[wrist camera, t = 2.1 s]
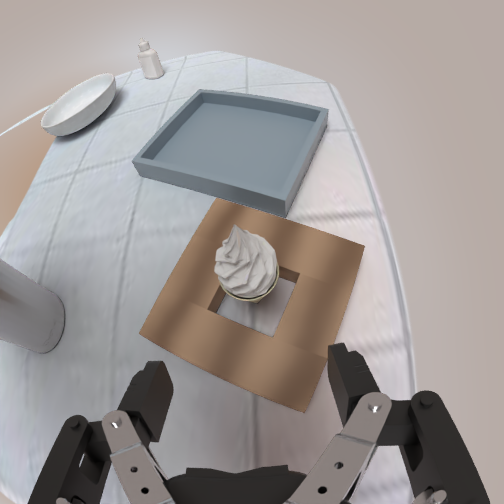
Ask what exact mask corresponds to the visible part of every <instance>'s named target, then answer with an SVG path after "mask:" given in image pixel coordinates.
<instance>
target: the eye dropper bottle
mask: <svg viewBox="0 0 504 504" xmlns="http://www.w3.org/2000/svg"><path fill="white" fill-rule="evenodd" d="M139 48H140V51H141V52H140V53H139V54H138V59H139V62H140V64H141V67H142V70H143V73H144V75H145V77H146V78H147V79H157V78H159V77H161V76H162V75H163V74H164V73H163V69H162V66H161V63H160V60H159V58H158V55H157V52H156V51H155V50H153V49H151V48H150V46H149V43H148V41H144V39H143V38H141V39H140V44H139Z"/></svg>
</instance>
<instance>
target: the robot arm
mask: <svg viewBox="0 0 504 504" xmlns="http://www.w3.org/2000/svg"><path fill="white" fill-rule="evenodd" d="M64 319H65V318H64V308H63V305H62V302H61V300H60V299H59V297H58V296H57V295H55V294H54V293H52V292H51V291H49V290H47V289H46V288H44V287H42V286H41V285H39V284H38V283H36V282H35V281H33V280H31V279H30V278H28V277H27V276H25V275H24V274H22V273H21V272H19V271H18V270H16V269H15V268H13V267H12V266H10V265H9V264H7V263H6V262H4V261H3V260H2V259H0V339H1V340H4V341H6V342H9V343H12V344H15V345H17V346H20V347H23V348H26V349H29V350H32V351H35V352H38V353H46V352H49V351H50V350H51V349H53V348H54V347H55V345H56V344H57V343H58V341H59V339H60V337H61V334H62V332H63V327H64ZM328 378H329V382H330V385H331V388H332V392H333V395H334V398H335V401H336V405H337V408H338V411H339V415H340V418H341V422H342V425H343V430H342V432H341V433H340V434H336V435H335V437H334V438H333V439H332V441H331V442H330V444H329V445H328V447H327V448H326V450H325V451H324V453H323V454H322V456H321V457H320V459H319V460H318V462H317V463H316V464H315V466H314V467H313V469H312V470H311V471H310V473H309V474H308V475H306V474H303V473H300V472H295V471H288V465H282V466H271V467H261V468H257V469H254V470H250V471H246V472H241V473H237V474H234V473H228V472H223V471H219V470H214V469H207V468H187V469H186V474H182V475H178V476H175V477H172V478H170V479H168V477H167V476H166V475H165V473H164V472H163V470H162V468H161V467H160V465H159V463H158V462H157V460H156V458H155V456H154V455H153V453H152V451H151V449H150V448H149V443H150V442H159V439H160V435H161V432H162V429H163V425H164V422H165V419H166V415H167V412H168V409H169V406H170V402H171V399H172V396H173V383H172V381H171V378H170V376H169V373H168V371H167V368H166V366H165V363H164V362H163V361H148V362H147V364H146V366H145V368H144V370H143V371H139V372H138V373H137V374H136V375H135V376H134V377H133V378H132V380H131V382H130V385H129V386H128V388H127V391H126V392H125V394H124V397H123V399H122V401H121V403H120V405H119V407H118V409H117V410H116V411H112V412H109V413H108V414H107V415H105V416H104V418H103V420H102V421H97V422H88V421H87V420H86V418H85V417H83V416H81V415H75V416H72V417H70V418H69V419H67V420H66V422H65V423H64V425H63V427H62V429H61V431H60V433H59V435H58V437H57V439H56V441H55V443H54V445H53V447H52V449H51V451H50V453H49V455H48V458H47V460H46V462H45V464H44V466H43V468H42V471H41V473H40V475H39V477H38V480H37V482H36V484H35V487H34V489H33V492H32V494H31V496H30V499H29V501H28V504H100V500H101V496H102V493H103V489H104V486H105V483H106V479H107V476H108V473H109V469H110V466H111V463H113V466H114V468H115V471H116V473H117V475H118V478H119V480H120V482H121V484H122V487H123V489H124V491H125V493H126V495H127V497H128V499H129V501H130V503H131V504H351V503H349V501H350V499H351V498H352V496H353V494H354V493H355V491H356V489H357V488H358V486H359V484H360V482H361V480H362V478H363V476H364V474H365V472H366V470H367V468H368V466H369V464H370V462H371V461H372V459H373V457H374V455H375V453H376V450H377V448H378V446H393V445H398V446H399V449H400V452H401V455H402V458H403V461H404V464H405V467H406V470H407V474H408V477H409V480H410V484H411V487H412V490H413V494H414V497H415V500H414V501H413V502H412V503H411V504H490V501H489V498H488V496H487V493H486V490H485V488H484V486H483V483H482V481H481V479H480V476H479V474H478V471H477V469H476V467H475V465H474V463H473V460H472V458H471V456H470V454H469V452H468V450H467V448H466V446H465V444H464V442H463V440H462V438H461V435H460V433H459V432H458V430H457V428H456V426H455V424H454V422H453V420H452V418H451V416H450V414H449V412H448V411H447V409H446V407H445V405H444V403H443V401H442V400H441V398H440V397H439V395H438V394H436V393H435V392H432V391H420V392H418V393H416V394H415V395H414V396H413V397H412V399H411V400H402V401H396V400H391V399H390V398H389V397H388V396H387V395H385V394H383V393H381V392H380V390H379V388H378V386H377V384H376V382H375V380H374V378H373V376H372V374H371V372H370V370H369V368H368V366H367V364H366V362H365V360H364V358H363V356H362V355H361V354H359V353H358V352H357V351H351V352H348V350H347V348H346V346H345V344H344V343H338V344H333V345H328ZM83 454H84V455H85V456H84V458H83V461H82V463H81V466H80V468H79V464H80V461H81V458H82V456H83Z"/></svg>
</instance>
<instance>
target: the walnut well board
mask: <svg viewBox="0 0 504 504" xmlns="http://www.w3.org/2000/svg"><path fill="white" fill-rule="evenodd" d="M233 225H236V226H237V227H239V228H241V229H243V230H248V231H249V232H250V233H251V234H257V235H259V236H260V237H263V238H264V239H265V240H266V241H267V242H268V243H269V244H270V245H271V246H272V248H273V249H274V250H275V253H276V259H277V262H278V266H279V277H281V278H284V279H287V280H289V281H292V282H295V283H296V285H295V287H294V290H293V292H292V295H291V297H290V299H289V302H288V304H287V306H286V309H285V311H284V313H283V316H282V318H281V320H280V323H279V325H278V327H277V330H276V332H275V334H274V336H273V338H272V337H270V336H267V335H265V334H262V333H260V332H258V331H255V330H253V329H250V328H248V327H246V326H243V325H241V324H239V323H236V322H234V321H232V320H229V319H227V318H225V317H223V316H220V315H218V314H216V312H217V310H218V308H219V306H220V304H221V302H222V300H223V298H224V296H225V294H226V292H225V291H224V290H223V288H222V286H221V285H220V282H219V279H218V274H216V273H215V272H214V270H215V265H216V263H217V261H215V259H216V252H217V249H219V248H220V247H223V244H222V243H223V241H224V240H226V239H228V238H229V236H230V233H231V231H232V228H233ZM364 248H365V246H364V245H361V244H358V243H355V242H352V241H349V240H347V239H344V238H341V237H338V236H335V235H332V234H329V233H326V232H323V231H320V230H318V229H315V228H312V227H309V226H306V225H303V224H299V223H296V222H293V221H290V220H287V219H284V218H281V217H278V216H275V215H272V214H268V213H265V212H262V211H259V210H256V209H252V208H249V207H246V206H243V205H239V204H236V203H233V202H229V201H226V200H223V199H219V198H216V199H215V201H214V202H213V204H212V206H211V207H210V209H209V210H208V212H207V214H206V215H205V217H204V219H203V220H202V222H201V224H200V225H199V227H198V229H197V230H196V232H195V234H194V235H193V237H192V239H191V240H190V242H189V244H188V245H187V247H186V249H185V250H184V252H183V254H182V256H181V257H180V259H179V261H178V263H177V264H176V266H175V268H174V270H173V271H172V273H171V275H170V277H169V278H168V280H167V282H166V284H165V286H164V287H163V289H162V291H161V293H160V295H159V296H158V298H157V300H156V302H155V304H154V306H153V308H152V309H151V311H150V313H149V315H148V317H147V319H146V321H145V323H144V325H143V326H142V328H141V330H140V332H139V334H140V335H142V336H143V337H145V338H147V339H148V340H150V341H152V342H153V343H155V344H157V345H159V346H160V347H162V348H164V349H166V350H167V351H169V352H171V353H173V354H174V355H176V356H178V357H180V358H182V359H184V360H186V361H187V362H189V363H191V364H193V365H195V366H197V367H199V368H201V369H203V370H205V371H207V372H209V373H211V374H213V375H215V376H217V377H219V378H221V379H223V380H226V381H228V382H230V383H232V384H234V385H236V386H239V387H241V388H243V389H245V390H248V391H250V392H252V393H255V394H257V395H259V396H262V397H264V398H266V399H269V400H271V401H274V402H276V403H279V404H282V405H284V406H287V407H289V408H292V409H295V410H297V411H300V412H303V413H305V411H306V409H307V406H308V404H309V402H310V400H311V398H312V395H313V393H314V391H315V388H316V386H317V384H318V381H319V379H320V377H321V374H322V372H323V369H324V367H325V364H326V362H327V359H328V345H333V344H334V341H335V338H336V336H337V333H338V330H339V327H340V325H341V322H342V319H343V316H344V313H345V310H346V307H347V304H348V301H349V298H350V295H351V292H352V289H353V285H354V282H355V279H356V276H357V272H358V269H359V265H360V262H361V258H362V255H363V251H364Z"/></svg>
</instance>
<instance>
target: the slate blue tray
mask: <svg viewBox="0 0 504 504" xmlns="http://www.w3.org/2000/svg"><path fill="white" fill-rule="evenodd" d="M328 110H329V109H325V108H321V107H317V106H312V105H308V104H303V103H298V102H293V101H288V100H283V99H277V98H271V97H265V96H258V95H251V94H243V93H235V92H225V91H215V90H202V89H199V90H198V91H197V92H196V93H195V94H194V95H193V96H192V97H191V98H190V99H189V100H188V101H187V102H186V103H185V104H184V105H183V106H182V107H181V108H179V110H178V111H177V112H176V113H175V114H174V115H173V116H172V117H171V118H170V119H169V120H168V121H167V122H166V123H165V124H164V125H163V126H162V127H161V128H160V129H159V130H158V131H157V133H156V134H155V135H154V136H153V137H152V138H151V139H150V140H149V141H148V143H147V144H146V145H145V146H144V147H143V148H142V149H141V151H140V152H139V153H138V154H137V155H136V156H135V158H134V159H133V160H132V163H133V164H134V166H135V168H136V170H137V171H138V173H139V175H140V176H142V177H146V178H150V179H154V180H158V181H161V182H165V183H169V184H173V185H176V186H180V187H184V188H187V189H191V190H194V191H198V192H201V193H205V194H208V195H212V196H215V197H219V198H222V199H225V200H229V201H232V202H236V203H239V204H242V205H246V206H249V207H252V208H255V209H259V210H262V211H265V212H268V213H271V214H275V215H278V216H281V217H284V218H286V216H287V214H288V211H289V209H290V207H291V205H292V203H293V201H294V198H295V196H296V194H297V192H298V190H299V187H300V185H301V183H302V181H303V179H304V176H305V174H306V172H307V170H308V167H309V165H310V163H311V161H312V159H313V156H314V154H315V152H316V150H317V147H318V145H319V143H320V141H321V138H322V136H323V134H324V132H325V129H326V127H327V121H328Z"/></svg>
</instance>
